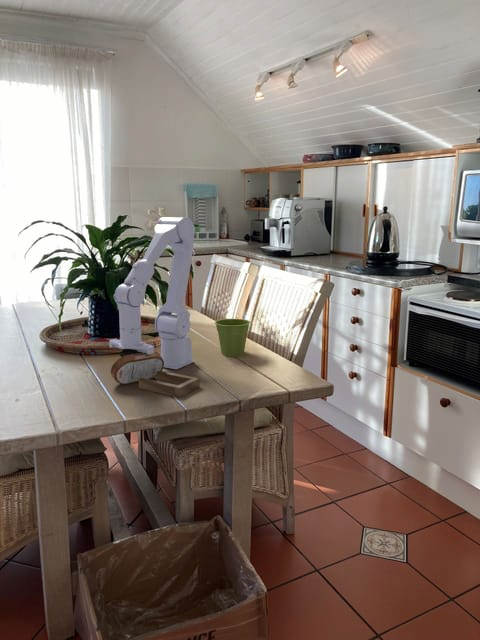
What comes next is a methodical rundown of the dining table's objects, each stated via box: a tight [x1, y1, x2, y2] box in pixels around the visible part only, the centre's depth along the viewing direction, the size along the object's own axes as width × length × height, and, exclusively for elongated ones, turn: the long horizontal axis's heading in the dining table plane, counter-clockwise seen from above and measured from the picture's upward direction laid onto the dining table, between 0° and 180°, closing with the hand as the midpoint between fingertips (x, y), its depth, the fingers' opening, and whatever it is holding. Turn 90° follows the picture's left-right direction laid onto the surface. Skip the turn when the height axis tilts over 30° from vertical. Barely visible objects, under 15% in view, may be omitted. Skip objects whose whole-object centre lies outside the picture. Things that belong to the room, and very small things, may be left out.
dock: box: [138, 370, 201, 398], centre depth 140 cm, size 9×14×2 cm, turn 60°
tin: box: [110, 350, 165, 385], centre depth 144 cm, size 15×3×8 cm, turn 126°
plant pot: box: [213, 318, 252, 357], centre depth 171 cm, size 12×12×11 cm
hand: (132, 375), depth 147 cm, fingers closed
